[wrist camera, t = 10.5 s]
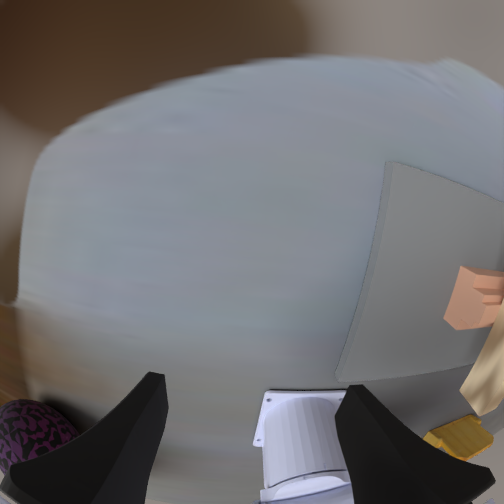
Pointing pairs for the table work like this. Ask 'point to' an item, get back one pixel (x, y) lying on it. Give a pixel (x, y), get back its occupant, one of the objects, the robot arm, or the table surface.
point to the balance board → (426, 279)
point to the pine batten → (487, 371)
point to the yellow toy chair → (461, 437)
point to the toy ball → (31, 431)
